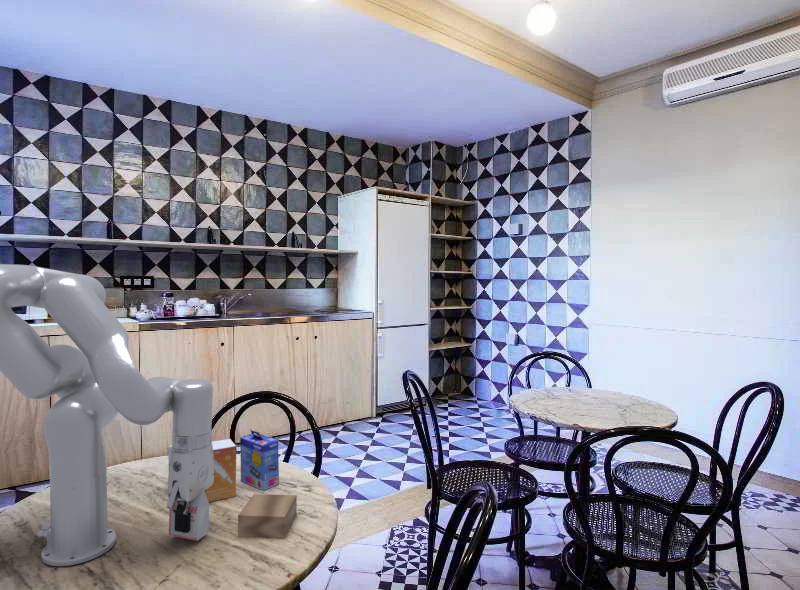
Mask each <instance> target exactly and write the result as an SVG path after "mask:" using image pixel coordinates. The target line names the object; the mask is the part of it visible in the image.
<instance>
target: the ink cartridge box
mask: <svg viewBox="0 0 800 590" xmlns="http://www.w3.org/2000/svg"><path fill="white" fill-rule="evenodd" d="M249 431H250V433H249V434H247V435H243V436H241V437H240V438H239V442H240V443H239V444H240V446H239V447H240V452H239V453H240V482H242V483H245V484H247V485H250V486H252V487H254V488H256V489H258V490H260V491H267V490H268V489H271V488H273V487H275V486H278V485H279V484H280V469H279V465H280V464H279V440H278V439H276V438H274V437H270V436H267V435H264V434H261V433H260V432H259V431H255V430H252V429H249Z"/></svg>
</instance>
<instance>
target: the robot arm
mask: <svg viewBox="0 0 800 590" xmlns="http://www.w3.org/2000/svg"><path fill="white" fill-rule="evenodd" d="M106 300H107V292H106V289H105V287H104V285H103V284H102V282H100V281H99V280H98V279H96V278H95V277H93V276H90V275H87V274H81V273H74V272H68V271H63V270H56V269H52V268H46V267H41V266H34V265H27V264H6V263H5V264H4V263H3V264H2V263H0V372H1V373H2V375H4V377H6V379H7V380H8V381H9V382H10V383H11V384H12V385H13V386H14V387H15V389H16V390H17V391H18V392H19V393H20V394H21V395H22V396H24V397H26V398H28V399H30V400H44V399H47V398H49V397H52V396H55V395H57V397H58V398H59V400H57V401H56V402H55V403H54V404H53V405H52V406H51V407H50V408H49V410H48V411H47V413H46V415H45V417H44V421H43V432H44V438H45V443H46V446H47V454H48V464H49V466H48V467H49V471H48V472H49V496H50V499H49V500H50V501H49V502H50V521H46V522H44V523H43V525H42V527H41V529H39V530H38V532H36V533H37V534H36V536H37V538H40V539H46V545H45V546H44V547H43V548H42V550H41V554H40V556H41V561H42V563H43V564H45V565H48V566H53V567H68V566H69V567H70V566H75V565H78V564H83V563H86V562H89V561H92V560H93V559H96V558H99V557H101V556H102V555H104V554H106V553H107V552H109V550H111V549H112V548H113V547H114V545H115V544H116V542H117V534H116V532H115V530H114V529H111V528H109V527H108V480H107V479H108V477H107V474H108V471H107V469H108V468H107V449H106V446H105V441H104V438H103V429H104V428H105V427H106V426H108V425H109V424H110V423H111V422H112V421H113V420H114V419H115V418H116V417H117V416H118V415H119V414H120V415H121V416H123V418H125V419H126V420H127V421H129V422H130V423H132V424H135V425H139V426H147V425H151V424H154V423H155V422H157V421H158V420H160V418H162V417H163V415H164V414H166V413H168V412H172V430H171V431H172V434H171V445H172V450H173V451H172V454H171V460H170V466H169V465H168V476H167V477H168V479H167V496H168V500H167V503H166V509H169V510H170V509H172V510H173V513H175V528H174V529H175V531H178V532H184V533H188V532H189V531H190V518H191V513H189V505H190V501H192V500H193V499H195V498H196V497H197V496H199V495H200V494H201V490H202V489H205V493H206V490H207V489H208V488H209V487H210V486H211V485H212V484H213V482H214V454H213V446H212V442H213V440H212V423H213V421H212V420H213V395H214V394H213V393H214V387H213V383H212V382H211V381H209V380H206V379H201V378H191V379H189V378H188V379H180V378H179V379H178V378H171V377H166V376H155V377H151V378H149V379H146V378H145V377H144V375H143V374H142V373H141V372H140V370H139V369H138V368H137V366H136V365H135V363H134V361H133V359H132V357H131V354H130V350H129V349H130V348H129V333H128V331H127V328H126V327H124V326H123V324H122V323H121V322H120V321H119V320H118V318H117V317H116V316H115V315H114V314H113V313H112V312H111V310H110V309H109V308H108V307H107V306H106V305H105V303H106ZM25 306H26V307H34V308H40V309H44V310H45V311H46V312H47V314H48V315H49V316H50V317H51V318H52V319H53V320H54V322H55V323H56V324H57V325H58V326H59V328H61V329H62V331H63V332H64V333H65V335H67V336H68V338H70V339H71V341H72V342H73V343H74V344H75V346H76V347H75V346H73V345H69V344H54V345H53V344H52V345H49V344H48V342H46V341H45V340H44V339H43V338H42V337H41V335H39V334H38V332H37V331H36V330H35V328H34V327H33V326H31V324H29V323H28V322H27V321H26V320H24V319H23V318H22V317H20V316H19V315H18V314H16V313H15V312H14V310H13V309H12V308H15V307H16V308H17V307H25ZM180 495H181V496H180ZM180 501H183V502H184V506H183V505H182V504H180Z"/></svg>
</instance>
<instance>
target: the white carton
mask: <svg viewBox="0 0 800 590" xmlns="http://www.w3.org/2000/svg"><path fill="white" fill-rule="evenodd" d="M180 496H181V495H180ZM180 504H182V505H183V506H184V502H183V501H180ZM189 513H191V518H190V531H189V532H188V533H184V532H178V531H175V529H174V528H175V513H173V510H172V509H169V514H168V517H169V519H168V521H169V522H168V525H169V526H168V536H170V537H176V538H180V539H186V540H191V541H196V542H198V541H199V540H200V539H202V538H203V537H204V536H205V535H207V534H208V533H209V525H210V523H209V522H210V517H209V516H210V502H208V500H207V497H206V494H205V489H202V490H201V494H200V495H199V496H197V497H196V498H195V499H193V500H192V501H190V505H189Z"/></svg>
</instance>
